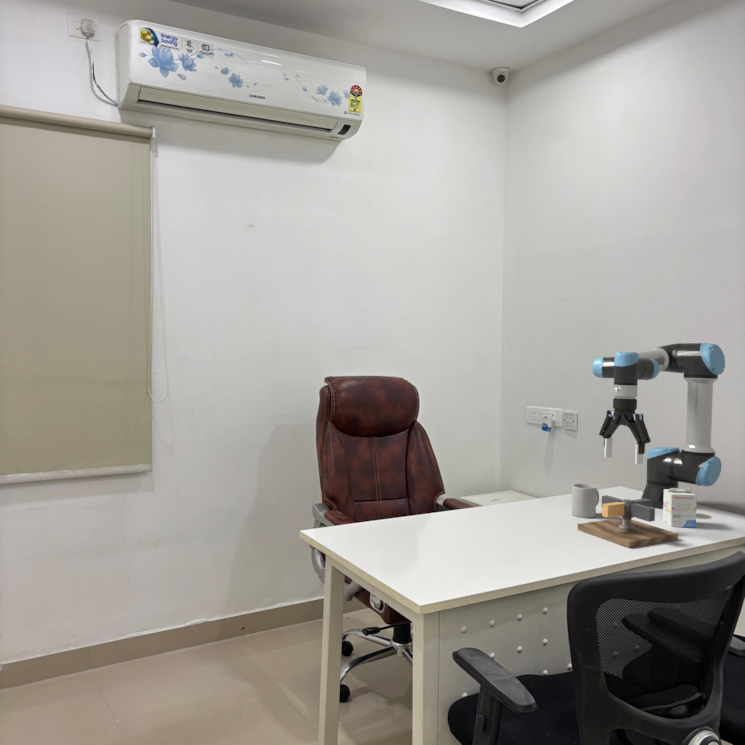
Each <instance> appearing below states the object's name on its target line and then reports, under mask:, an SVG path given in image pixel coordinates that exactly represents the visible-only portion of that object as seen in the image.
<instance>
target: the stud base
mask: <svg viewBox="0 0 745 745" xmlns="http://www.w3.org/2000/svg"><path fill="white" fill-rule="evenodd" d="M577 531H580V532H583V533H586V534H588V535H591V536H594V537H597V538H600V539H602V540H605V541H607V542H610V543H613V544H616V545H619V546H622V547H624V548H628V549H633V548H637V547H642V546H644V547H645V546H649V545H655V544H662V543H665V542H666V543H667V542H668V543H669V542H673V541H678V540H679V534H678V533H677V532H673V531H672V530H671V531H670V530H667V529H664V528H660V527H657V526H653V525H650V524H648V523H643V522H641V521H637V520H634V519H632V518H627V517H622V516H621V517H617V518H616V517H615V518H610V519H609V518H608V519H604V520H597V521H596V520H595V521H590V522H588V521H587V522H583V523H582V522H581V523H577Z"/></svg>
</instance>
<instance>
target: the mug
mask: <svg viewBox="0 0 745 745" xmlns="http://www.w3.org/2000/svg"><path fill="white" fill-rule="evenodd" d="M571 492H572V493H571V494H572V495H571V515H572V516H573V517H576V518H580V519H581V518H582V519H593V518H595V517H596V516H597V506H599V502H600V492H599V489H597V486H595V485H593V484H589V483H574V484H573V485H572V491H571Z"/></svg>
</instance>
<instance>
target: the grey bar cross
mask: <svg viewBox="0 0 745 745" xmlns="http://www.w3.org/2000/svg"><path fill="white" fill-rule="evenodd" d="M651 504H652V500H650V499H641V498H639V499H638V498H637V499H621V498H618V497H614V496H610V495H608V494H607V495H602V496H601V508H602V510H601V512H602V513H601V517H604V518H608V519H609V518H610V519H611V518H616V517H617V518H618V517H621V518H622V517H627V518H631V519H632V518H637V519H639V520H642V521H646V522H651V523H652V522H655V521H656V518H655V517H656V507H651Z"/></svg>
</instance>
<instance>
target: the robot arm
mask: <svg viewBox="0 0 745 745" xmlns="http://www.w3.org/2000/svg"><path fill="white" fill-rule="evenodd" d="M591 367H592V374H593V375H594V376H595V377H597V378H602V379H613V392H612V393H613V399H612V408H613V409H610V410H609V409H608V410H607V411H606V416H605V419H604V421H603V423H602V426H601V427H600V431H599V433H598V435H599V436H602V438H603V448H604V454H603V455H604V456H603V457H604V458H612V457H613V438H612V436H613V435H614V434H615V432H616V431H617V429H618V428H619V426H624V427H628V429H629V430H630V432H631V433H632V436H633V437H634V439H635V441H636V443H635V447H634V448H635V452H634V453H635V454H634V455H635V456H634V464H635V465H643V464H644V455H645V453H646V452H645V451H646V444H649V443H651V441H652V440H651V438H650V435H649V432H648V429H647V427H646V424H645V421H644V419H645V418H644V414H643V413H636V410H637V409H638V408H637V407H638V400H637V397H638V381H640V380H641V381H643V380H644V381H649V380H653V379H656V378H657V377H658V375H659V374H660V373H661V372H667V373H675V374H676V373H677V374H683V379H684V380H685V381H686V383H687V393H686V394H687V397H686V398H687V400H686V402H687V403H686V420H685V421H686V425H685V427H686V428H685V429H686V430H685V445H683V446H682V447H681V448H680V447H677V446H663V447H662V446H660V447H659V446H658V447H651V448H649V449H648V451H647V455H646V484H645V487H644V490H643V492H642V495H641V498H640V499H650V500H652V504H651V508H655V509H663V499H664V489H670V488H679V483H685V484H690V485H696V486H697V487H698V486H699V487H701V486H703V487H711V486H713V485H714V484H716V482H717V481H718V480H719V478H720V475H721V471H722V462H721V461H722V460H721V458H719V457H718V456H716V450H715V449H714V447H712V422H713V420H712V418H713V416H712V415H713V395H714V394H713V393H714V392H713V391H714V390H713V388H714V383H715V382H716V381H717V380H718V378H719V375H721V374H723V373H724V371H725V368H726V358H725V354H724V352H723V350H722V348H721V346H720V345H717V343H707V342H702V343H701V342H699V343H697V342H696V343H693V342H692V343H689V342H688V343H687V342H686V343H682V342H680V343H679V342H678V343H671V344H666V345H662V346H657V347H653V348H650V350H648V351H642V352H637V351H617V352H616V353H615V354H614V356H609V357H607V356H603V357H597V358H595V359H594V360H593V362H592V366H591Z"/></svg>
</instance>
